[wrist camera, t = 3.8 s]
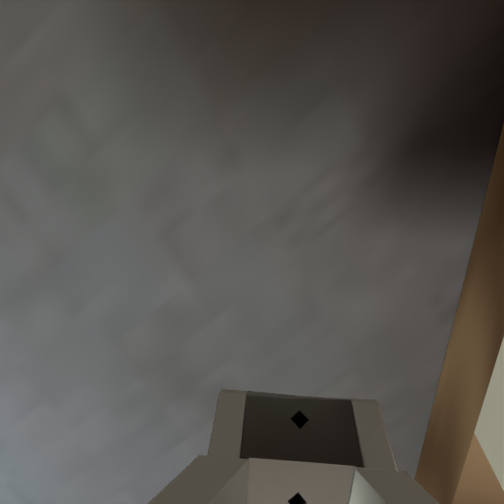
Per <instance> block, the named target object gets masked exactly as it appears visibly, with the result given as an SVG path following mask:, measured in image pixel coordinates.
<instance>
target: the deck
mask: <svg viewBox="0 0 504 504" xmlns="http://www.w3.org/2000/svg"><path fill="white" fill-rule="evenodd" d="M503 337H504V123H503V127H502V131H501V135H500V139H499V143H498V148H497V152H496V156H495V160H494V164H493V168H492V172H491V176H490V180H489V184H488V188H487V192H486V196H485V200H484V204H483V208H482V212H481V216H480V220H479V224H478V228H477V232H476V236H475V240H474V244H473V248H472V252H471V256H470V260H469V264H468V268H467V272H466V276H465V280H464V284H463V288H462V292H461V296H460V300H459V304H458V308H457V312H456V316H455V320H454V324H453V328H452V332H451V336H450V340H449V344H448V348H447V352H446V356H445V360H444V364H443V368H442V372H441V376H440V380H439V384H438V388H437V392H436V396H435V400H434V404H433V408H432V412H431V416H430V420H429V424H428V428H427V432H426V436H425V440H424V444H423V448H422V452H421V456H420V460H419V465H418V469H417V473H416V477H415V481H417V482H418V483H419V484H420V485H421V486H422V487H423V488H424V489H425V490H426V491H427V492H428V493H429V494H430V495H431V496H432V497H433V498H434V499H435V500H436V501H437V502H438V503H439V504H504V491H503V489H502V487H501V485H500V483H499V481H498V479H497V477H496V475H495V473H494V471H493V469H492V467H491V465H490V463H489V461H488V459H487V457H486V455H485V453H484V451H483V449H482V447H481V445H480V443H479V441H478V439H477V437H476V435H475V433H474V431H475V428H476V425H477V422H478V418H479V415H480V412H481V409H482V405H483V402H484V399H485V396H486V392H487V389H488V386H489V383H490V379H491V376H492V373H493V370H494V366H495V363H496V360H497V357H498V353H499V350H500V347H501V344H502V341H503Z"/></svg>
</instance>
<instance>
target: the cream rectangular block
mask: <svg viewBox="0 0 504 504" xmlns="http://www.w3.org/2000/svg"><path fill="white" fill-rule="evenodd" d="M474 433H475V435H476V437H477V439H478V441H479V443H480V445H481V447H482V449H483V451H484V453H485V455H486V457H487V459H488V461H489V463H490V465H491V467H492V469H493V471H494V473H495V475H496V477H497V479H498V481H499V483H500V485H501V487H502V489H503V491H504V337H503V341H502V344H501V347H500V350H499V353H498V357H497V360H496V363H495V366H494V370H493V373H492V376H491V379H490V383H489V386H488V389H487V392H486V396H485V399H484V402H483V405H482V409H481V412H480V415H479V418H478V422H477V425H476V428H475V431H474Z"/></svg>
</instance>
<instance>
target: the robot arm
mask: <svg viewBox="0 0 504 504" xmlns="http://www.w3.org/2000/svg"><path fill="white" fill-rule="evenodd" d="M148 504H439V503H438V502H437V501H436V500H435V499H434V498H433V497H432V496H431V495H430V494H429V493H428V492H427V491H426V490H425V489H424V488H423V487H422V486H421V485H420V484H419V483H418V482H417V481H415V480H414V479H413V478H412V477H411V476H410V475H409V474H408V473H407V472H406V471H398V470H397V466H396V463H395V459H394V456H393V452H392V449H391V445H390V442H389V438H388V435H387V431H386V428H385V424H384V421H383V417H382V413H381V410H380V406H379V403H378V402H377V401H376V400H367V399H340V398H325V397H310V396H296V395H285V394H275V393H265V392H254V391H247V392H246V391H239V390H228V389H221V391H220V393H219V396H218V402H217V407H216V412H215V418H214V423H213V428H212V434H211V439H210V444H209V449H208V455H207V456H203V455H199V456H198V457H197V458H196V459H195V460H194V461H193V462H192V463H190V464H189V465H188V466H187V467H186V468H185V469H184V470H183V471H182V472H181V473H180V474H179V475H178V476H177V477H176V478H175V479H174V480H172V481H171V482H170V483H169V484H168V485H167V486H166V487H165V488H164V489H163V490H162V491H161V492H160V493H159V494H158V495H157V496H156V497H154V498H153V499H152V500H151V501H150V502H149V503H148Z"/></svg>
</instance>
